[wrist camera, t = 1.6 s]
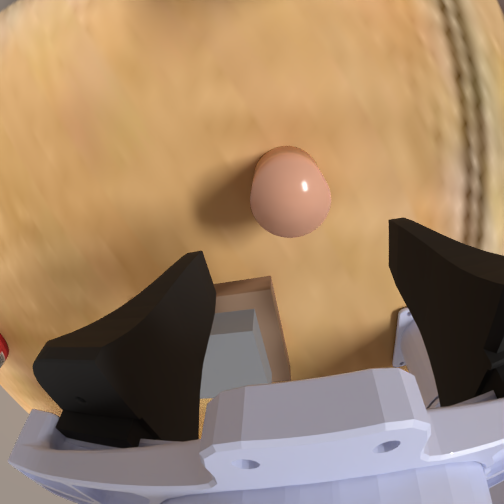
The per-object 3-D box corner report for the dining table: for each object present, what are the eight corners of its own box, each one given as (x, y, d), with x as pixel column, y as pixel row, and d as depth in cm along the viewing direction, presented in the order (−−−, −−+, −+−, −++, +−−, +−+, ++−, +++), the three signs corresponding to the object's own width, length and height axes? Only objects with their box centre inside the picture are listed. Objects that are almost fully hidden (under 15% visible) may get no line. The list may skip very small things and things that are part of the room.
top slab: (254, 308, 24) (252, 330, 22) (271, 373, 28) (271, 394, 26) (160, 318, 26) (151, 339, 23) (190, 378, 29) (185, 398, 27)
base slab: (270, 270, 25) (270, 289, 23) (289, 361, 31) (290, 380, 28) (147, 288, 27) (138, 306, 25) (187, 369, 32) (182, 387, 30)
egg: (313, 141, 20) (325, 155, 16) (323, 202, 22) (335, 230, 18) (247, 152, 20) (242, 170, 16) (261, 213, 22) (259, 243, 18)
